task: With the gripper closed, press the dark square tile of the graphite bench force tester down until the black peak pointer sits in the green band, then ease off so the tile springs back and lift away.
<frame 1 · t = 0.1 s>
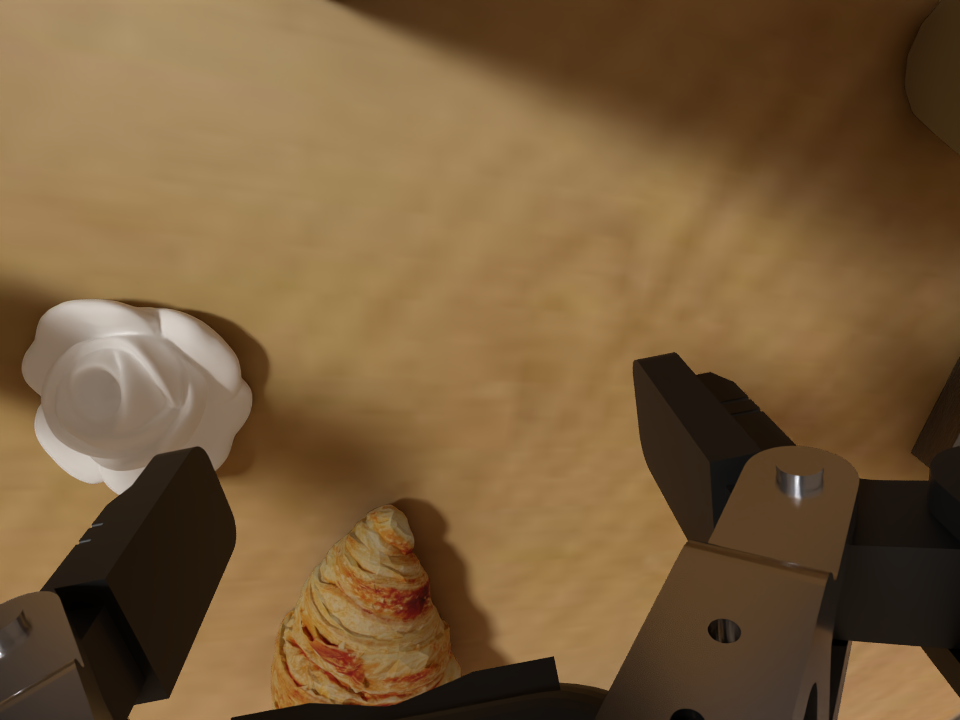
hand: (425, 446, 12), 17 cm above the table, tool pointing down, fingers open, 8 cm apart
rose: (146, 382, 31), on the table
croissant: (373, 635, 38), on the table
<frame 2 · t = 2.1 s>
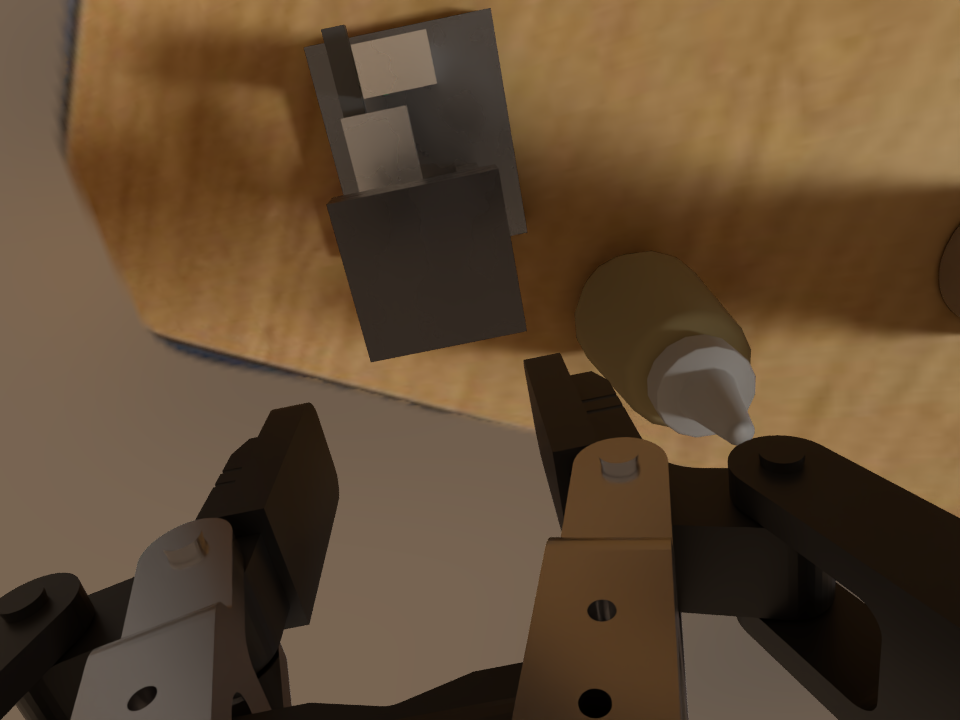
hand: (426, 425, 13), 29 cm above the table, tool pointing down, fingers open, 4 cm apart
dark square tile: (426, 212, 28), point 13 cm above the table, slide at 0.3 cm
peak pointer: (350, 95, 30), point 9 cm above the table, slide at 0.0 cm
squeeze bottle: (623, 297, 43), on the table
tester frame: (423, 142, 39), on the table
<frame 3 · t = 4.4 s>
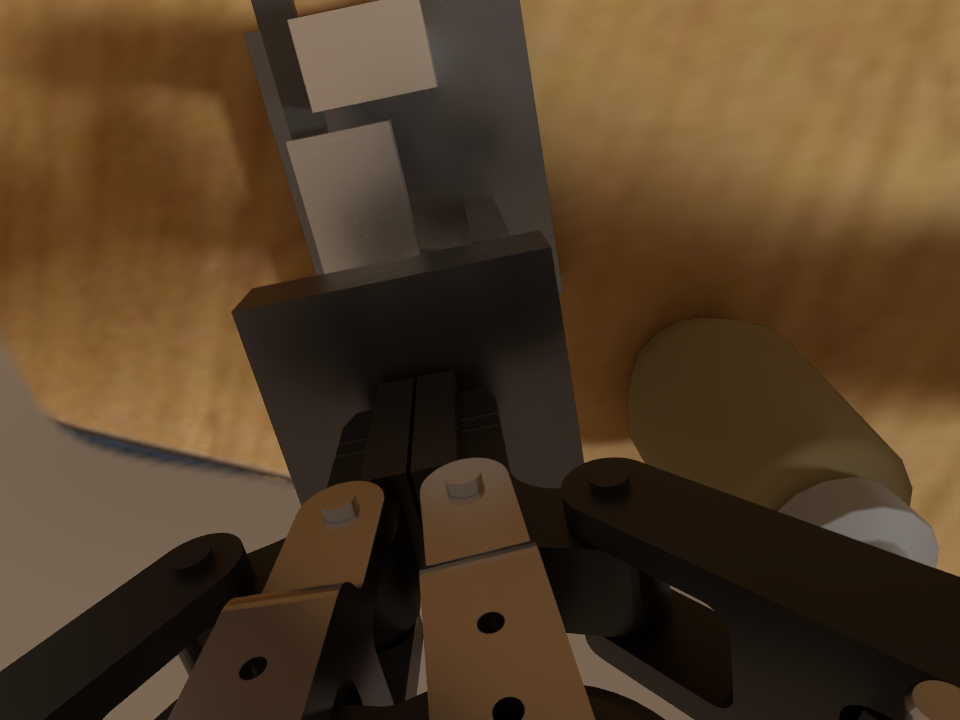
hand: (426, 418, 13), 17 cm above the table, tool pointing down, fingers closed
dark square tile: (420, 292, 17), point 12 cm above the table, slide at 0.9 cm, touching gripper, peak pointer
peak pointer: (301, 104, 19), point 8 cm above the table, slide at 0.3 cm, touching dark square tile
squeeze bottle: (687, 371, 32), on the table
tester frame: (418, 167, 28), on the table
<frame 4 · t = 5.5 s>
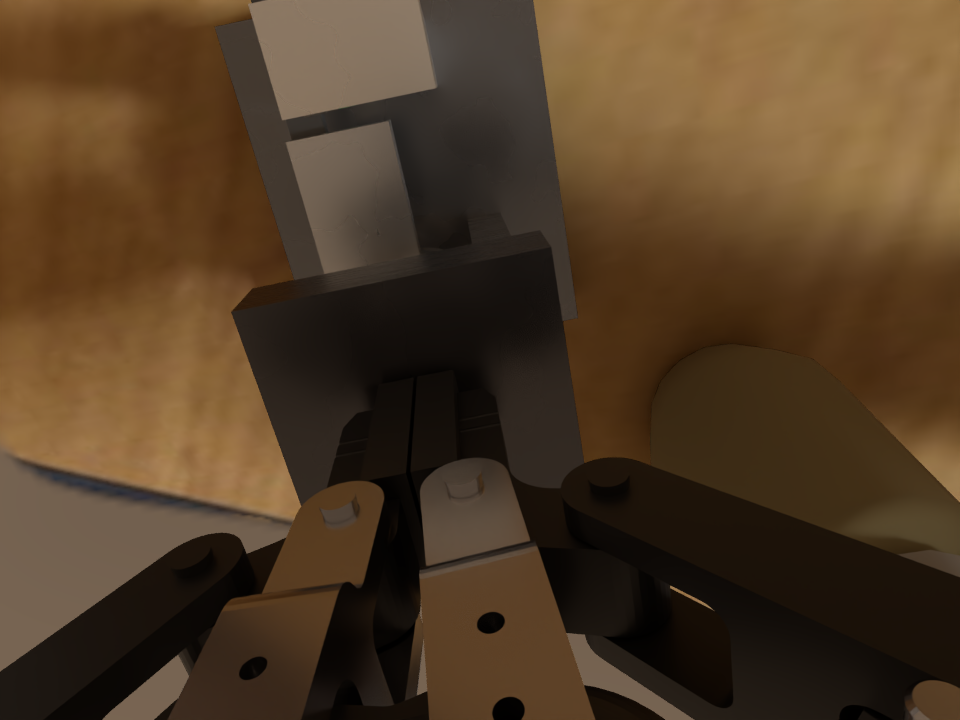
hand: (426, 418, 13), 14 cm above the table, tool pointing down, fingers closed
dark square tile: (420, 292, 17), point 9 cm above the table, slide at 4.2 cm, touching gripper, peak pointer
peak pointer: (301, 105, 19), point 5 cm above the table, slide at 3.6 cm, touching dark square tile
squeeze bottle: (713, 401, 29), on the table
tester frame: (415, 178, 25), on the table
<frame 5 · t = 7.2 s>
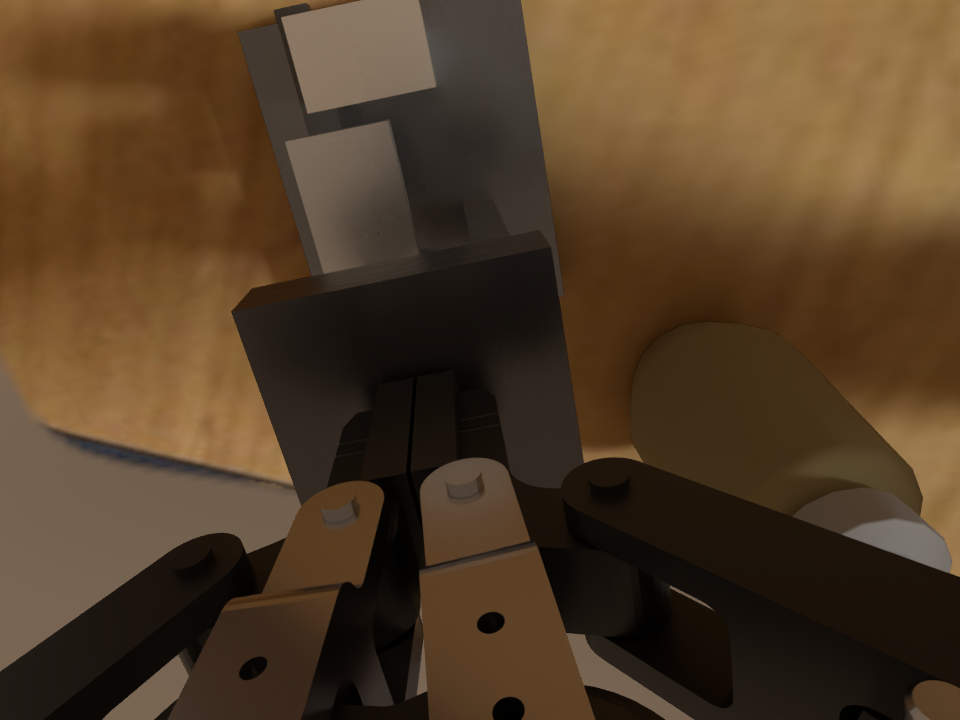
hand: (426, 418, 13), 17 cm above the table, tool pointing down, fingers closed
dark square tile: (419, 291, 17), point 12 cm above the table, slide at 1.5 cm, touching gripper
peak pointer: (317, 101, 21), point 5 cm above the table, slide at 3.6 cm
squeeze bottle: (690, 375, 32), on the table
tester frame: (416, 169, 27), on the table
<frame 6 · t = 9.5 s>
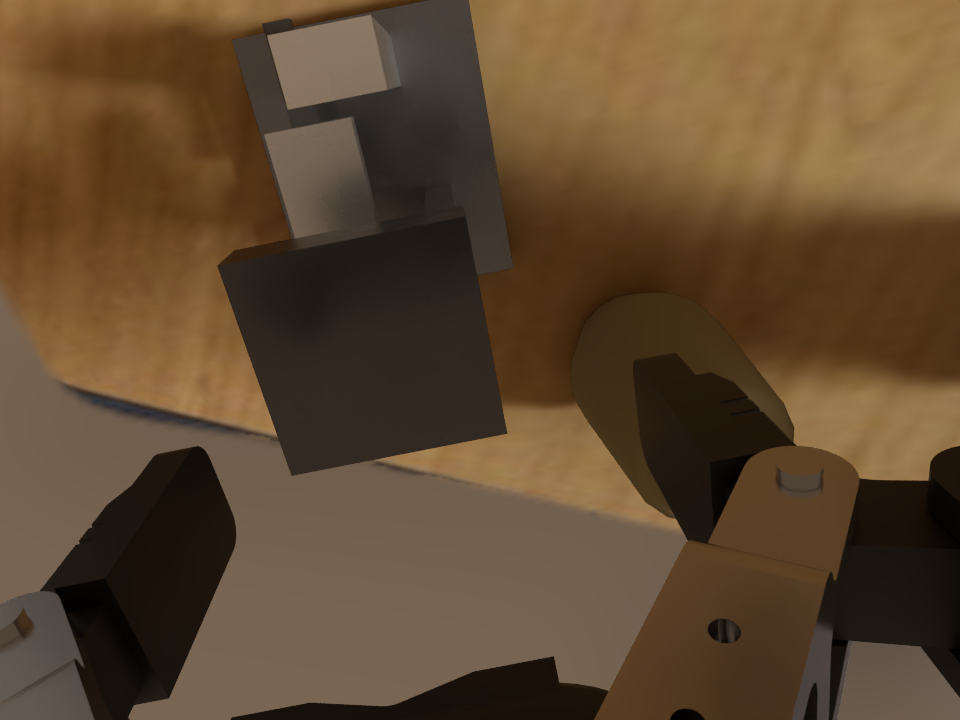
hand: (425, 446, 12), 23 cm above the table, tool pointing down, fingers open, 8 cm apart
dark square tile: (375, 260, 21), point 13 cm above the table, slide at 0.5 cm
peak pointer: (298, 99, 26), point 5 cm above the table, slide at 3.6 cm
squeeze bottle: (628, 341, 37), on the table
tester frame: (386, 158, 32), on the table
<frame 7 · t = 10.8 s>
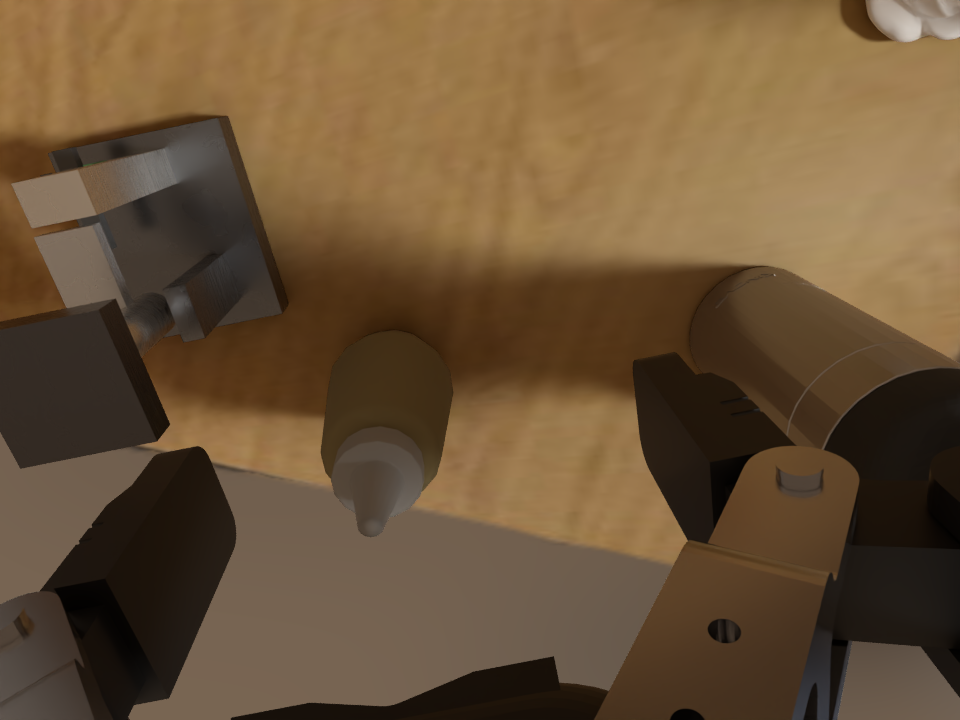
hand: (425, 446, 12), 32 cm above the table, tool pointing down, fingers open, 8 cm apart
dark square tile: (102, 324, 31), point 13 cm above the table, slide at 0.5 cm
peak pointer: (85, 201, 36), point 5 cm above the table, slide at 3.6 cm
squeeze bottle: (394, 366, 47), on the table
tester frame: (183, 231, 42), on the table
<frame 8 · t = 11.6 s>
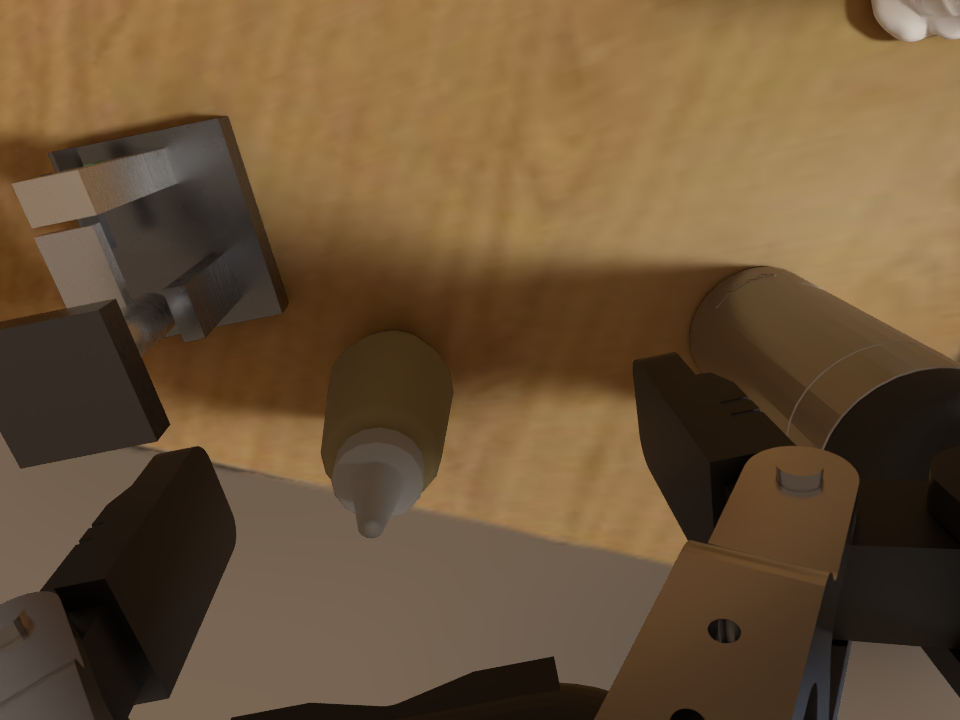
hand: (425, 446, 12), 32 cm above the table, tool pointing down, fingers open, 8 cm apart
dark square tile: (102, 324, 31), point 13 cm above the table, slide at 0.5 cm
peak pointer: (85, 201, 36), point 5 cm above the table, slide at 3.6 cm
squeeze bottle: (394, 366, 47), on the table
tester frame: (183, 231, 42), on the table
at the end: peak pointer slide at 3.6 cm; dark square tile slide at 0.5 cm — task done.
